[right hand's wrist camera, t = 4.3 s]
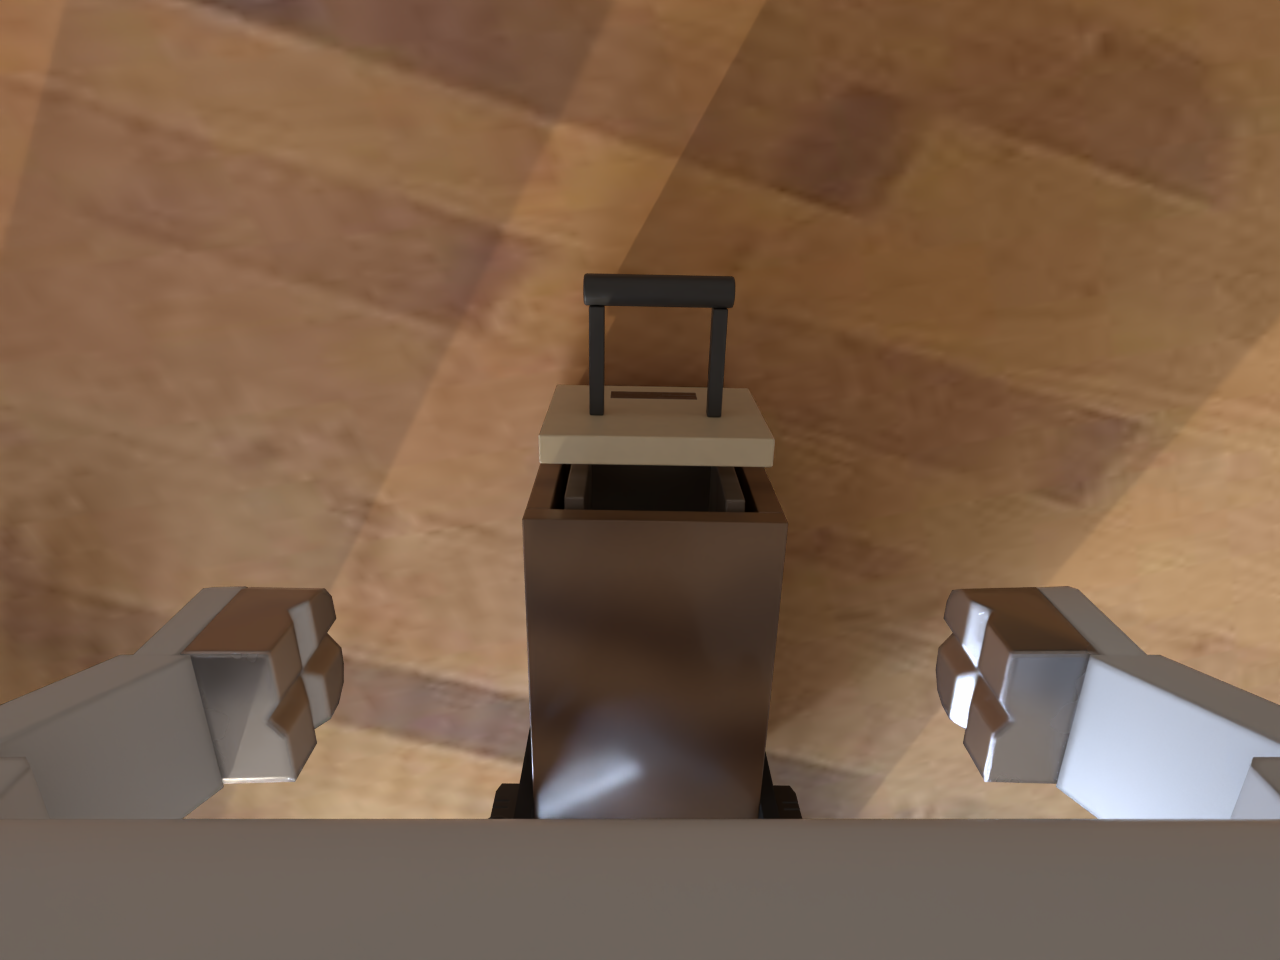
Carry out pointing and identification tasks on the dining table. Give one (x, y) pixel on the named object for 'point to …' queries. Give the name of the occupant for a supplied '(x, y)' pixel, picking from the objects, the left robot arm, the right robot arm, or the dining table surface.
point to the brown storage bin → (650, 653)
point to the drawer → (655, 415)
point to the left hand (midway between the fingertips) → (644, 747)
